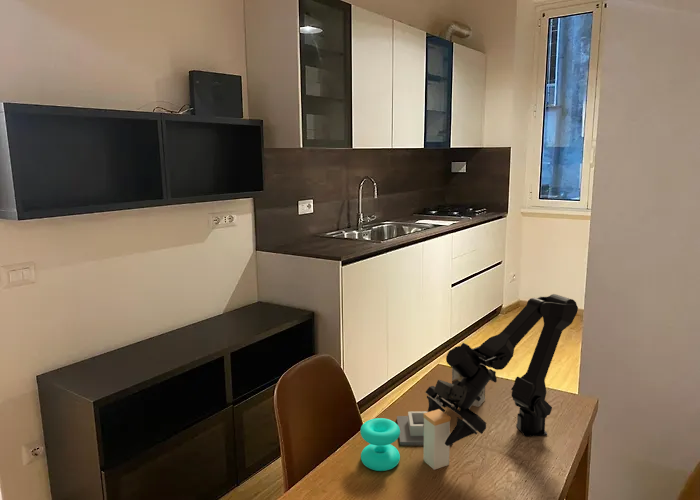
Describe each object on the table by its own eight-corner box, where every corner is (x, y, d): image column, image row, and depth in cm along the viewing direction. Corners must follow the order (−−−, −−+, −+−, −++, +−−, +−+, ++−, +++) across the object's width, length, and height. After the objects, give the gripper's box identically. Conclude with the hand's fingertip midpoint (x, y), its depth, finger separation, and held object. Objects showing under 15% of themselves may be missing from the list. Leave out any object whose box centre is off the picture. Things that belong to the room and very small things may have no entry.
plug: (438, 455, 141) (439, 409, 139) (449, 464, 137) (450, 417, 134) (422, 460, 139) (423, 413, 137) (434, 470, 135) (434, 422, 132)
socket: (444, 418, 159) (444, 406, 159) (452, 445, 146) (452, 431, 145) (396, 419, 160) (396, 406, 159) (400, 445, 146) (400, 431, 145)
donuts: (352, 427, 136) (376, 412, 144) (352, 463, 138) (376, 446, 146) (384, 440, 130) (407, 424, 138) (384, 478, 132) (407, 459, 140)
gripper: (431, 356, 144) (395, 404, 141) (478, 383, 127) (438, 438, 125) (455, 378, 149) (420, 425, 146) (502, 407, 132) (465, 460, 130)
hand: (434, 436), depth 136 cm, fingers open, 9 cm apart
